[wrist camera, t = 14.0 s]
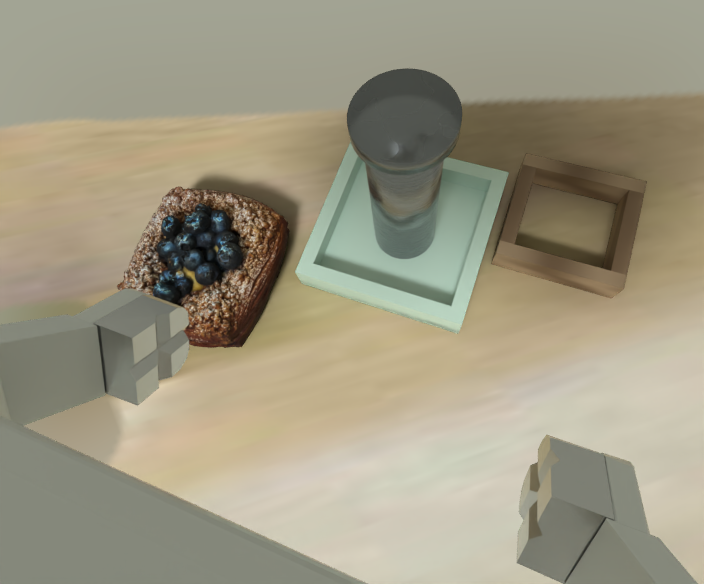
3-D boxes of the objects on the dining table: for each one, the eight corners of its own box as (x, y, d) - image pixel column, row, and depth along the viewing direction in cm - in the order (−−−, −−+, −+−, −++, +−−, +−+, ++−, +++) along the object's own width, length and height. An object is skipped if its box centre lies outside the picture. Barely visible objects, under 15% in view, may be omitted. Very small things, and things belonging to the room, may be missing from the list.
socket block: (634, 196, 36) (646, 181, 34) (611, 298, 33) (624, 288, 31) (520, 168, 37) (526, 153, 35) (491, 263, 35) (496, 253, 33)
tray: (502, 189, 37) (508, 172, 35) (458, 333, 34) (461, 324, 31) (356, 152, 39) (353, 134, 37) (302, 283, 36) (295, 272, 34)
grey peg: (452, 209, 36) (476, 81, 24) (429, 276, 34) (442, 176, 22) (381, 190, 37) (369, 59, 25) (356, 254, 36) (330, 147, 23)
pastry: (120, 324, 37) (70, 300, 31) (184, 191, 40) (149, 149, 35) (250, 366, 35) (220, 348, 29) (305, 222, 38) (288, 182, 33)
